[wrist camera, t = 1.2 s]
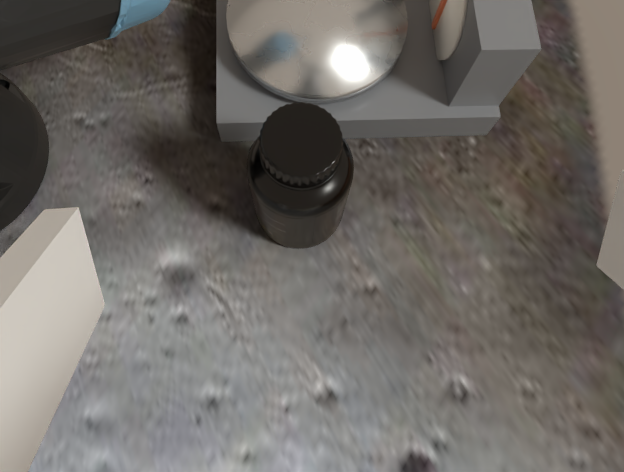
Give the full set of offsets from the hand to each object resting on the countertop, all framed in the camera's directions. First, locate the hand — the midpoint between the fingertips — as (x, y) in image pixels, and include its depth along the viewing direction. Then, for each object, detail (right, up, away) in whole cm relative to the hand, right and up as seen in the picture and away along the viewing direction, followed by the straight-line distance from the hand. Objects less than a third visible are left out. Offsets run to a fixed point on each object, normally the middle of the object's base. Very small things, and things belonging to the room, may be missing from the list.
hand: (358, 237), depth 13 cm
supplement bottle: (-2, +2, +28) cm, 28 cm away
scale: (+2, +16, +32) cm, 35 cm away
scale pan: (-1, +17, +28) cm, 32 cm away
